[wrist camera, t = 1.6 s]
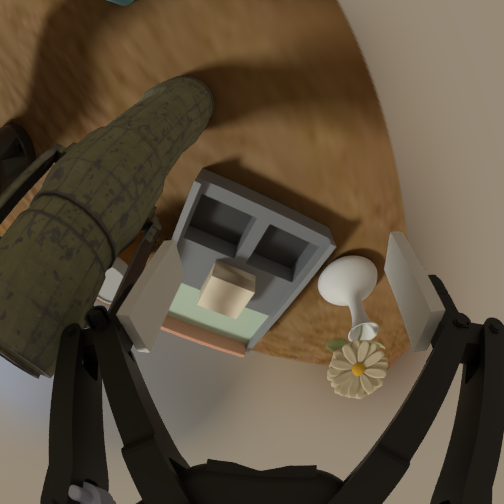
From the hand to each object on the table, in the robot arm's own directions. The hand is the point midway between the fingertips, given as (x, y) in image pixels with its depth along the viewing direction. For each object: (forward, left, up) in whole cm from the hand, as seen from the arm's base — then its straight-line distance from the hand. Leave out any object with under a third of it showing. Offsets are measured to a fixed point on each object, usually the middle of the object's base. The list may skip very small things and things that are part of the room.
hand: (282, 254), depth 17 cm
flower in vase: (+22, -14, -26) cm, 37 cm away
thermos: (-14, +1, -25) cm, 28 cm away
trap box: (+3, -21, -26) cm, 33 cm away
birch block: (+3, -22, -22) cm, 31 cm away
